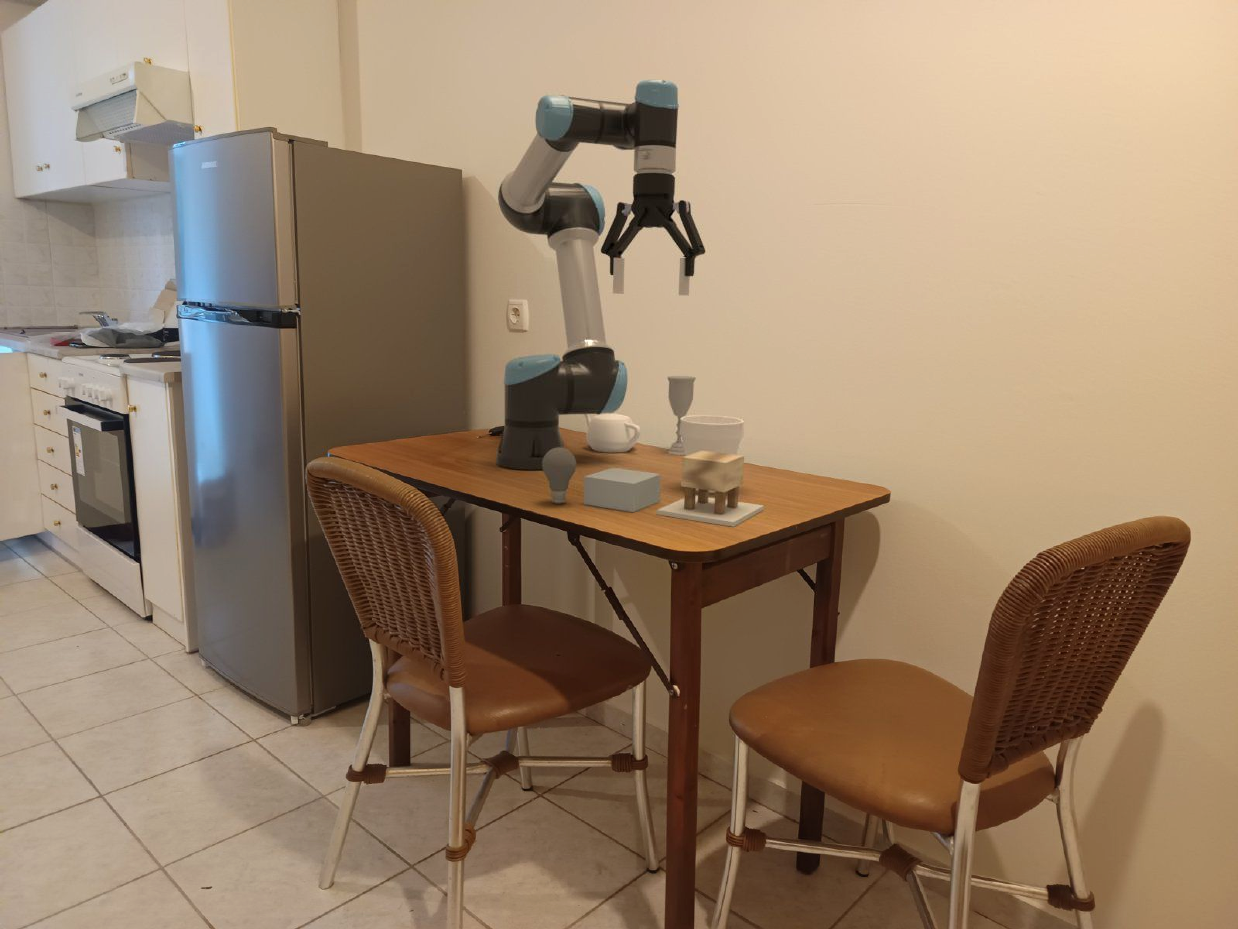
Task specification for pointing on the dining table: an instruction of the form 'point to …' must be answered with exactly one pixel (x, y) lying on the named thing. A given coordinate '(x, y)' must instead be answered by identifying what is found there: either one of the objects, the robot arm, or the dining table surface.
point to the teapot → (611, 432)
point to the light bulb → (559, 472)
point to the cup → (711, 434)
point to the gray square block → (622, 489)
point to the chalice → (680, 404)
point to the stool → (712, 479)
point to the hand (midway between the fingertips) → (650, 294)
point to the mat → (711, 512)
